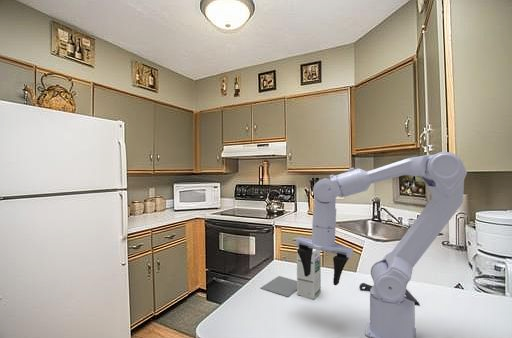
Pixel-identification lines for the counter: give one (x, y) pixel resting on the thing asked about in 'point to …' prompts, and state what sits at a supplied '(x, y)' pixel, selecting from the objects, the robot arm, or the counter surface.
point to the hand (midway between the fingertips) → (321, 279)
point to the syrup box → (309, 277)
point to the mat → (281, 286)
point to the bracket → (408, 296)
